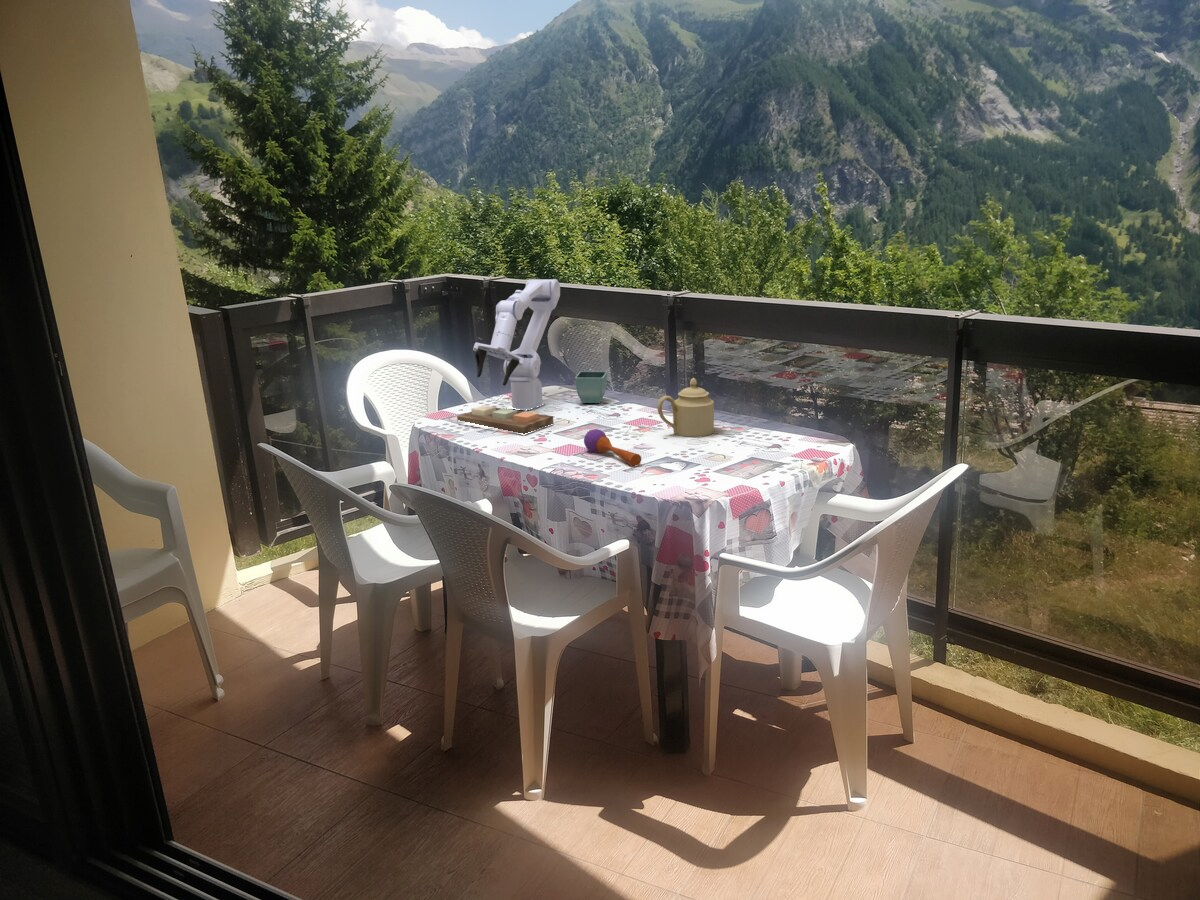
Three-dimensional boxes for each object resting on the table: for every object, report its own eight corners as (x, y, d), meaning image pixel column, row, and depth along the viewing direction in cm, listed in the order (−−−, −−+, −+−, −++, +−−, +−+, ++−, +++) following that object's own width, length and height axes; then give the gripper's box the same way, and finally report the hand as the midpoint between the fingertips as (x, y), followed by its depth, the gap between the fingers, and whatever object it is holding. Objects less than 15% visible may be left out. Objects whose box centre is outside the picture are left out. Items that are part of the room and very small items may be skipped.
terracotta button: (525, 419, 272) (524, 411, 271) (538, 422, 269) (538, 413, 268) (513, 423, 268) (513, 415, 267) (527, 426, 265) (527, 417, 265)
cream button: (483, 413, 281) (482, 405, 280) (496, 415, 278) (495, 407, 277) (472, 417, 277) (471, 408, 276) (484, 419, 274) (484, 410, 274)
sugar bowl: (687, 443, 249) (687, 386, 245) (655, 436, 256) (654, 381, 252) (722, 430, 259) (722, 376, 255) (690, 424, 267) (689, 371, 262)
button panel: (488, 414, 286) (487, 406, 285) (553, 424, 272) (553, 416, 271) (457, 424, 276) (457, 416, 275) (524, 435, 261) (523, 426, 261)
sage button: (504, 416, 276) (503, 408, 276) (517, 418, 274) (516, 410, 273) (492, 420, 273) (491, 412, 272) (505, 422, 270) (505, 414, 269)
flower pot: (604, 406, 290) (603, 377, 288) (575, 406, 292) (574, 377, 289) (608, 399, 299) (607, 371, 296) (580, 399, 300) (579, 371, 297)
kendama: (624, 454, 229) (577, 431, 244) (627, 475, 231) (581, 451, 247) (644, 445, 231) (596, 423, 247) (647, 466, 234) (599, 443, 249)
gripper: (481, 324, 269) (470, 367, 265) (530, 340, 273) (519, 383, 268) (476, 333, 276) (465, 375, 271) (523, 349, 279) (513, 391, 275)
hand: (491, 380), depth 270 cm, fingers open, 7 cm apart
